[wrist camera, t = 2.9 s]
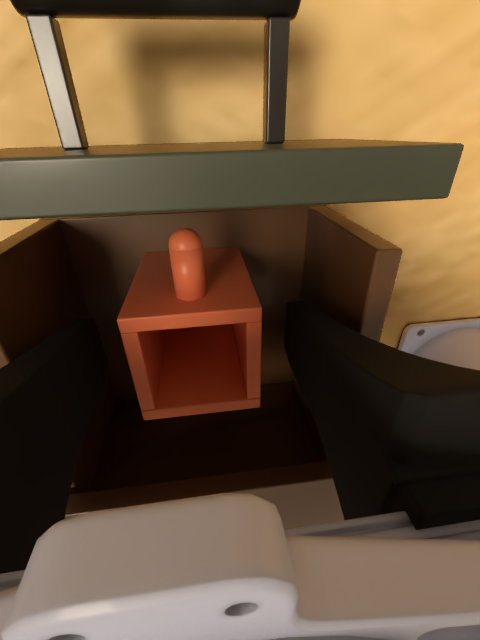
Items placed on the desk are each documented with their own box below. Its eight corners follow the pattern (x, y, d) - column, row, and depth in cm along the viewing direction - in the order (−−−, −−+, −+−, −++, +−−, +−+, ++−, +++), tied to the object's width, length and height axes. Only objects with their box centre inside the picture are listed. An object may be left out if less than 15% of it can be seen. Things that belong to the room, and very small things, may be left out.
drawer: (-49, -8, 10) (-477, -257, 4) (356, -1, 11) (565, -174, 5) (98, 398, 19) (52, 526, 13) (309, 376, 20) (360, 483, 14)
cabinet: (82, 361, 18) (1, 524, 11) (317, 339, 20) (395, 470, 12) (131, 496, 26) (105, 648, 18) (299, 473, 27) (340, 606, 20)
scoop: (240, 324, 16) (260, 408, 11) (159, 331, 16) (143, 421, 11) (237, 197, 13) (263, 236, 8) (134, 202, 12) (96, 246, 8)
